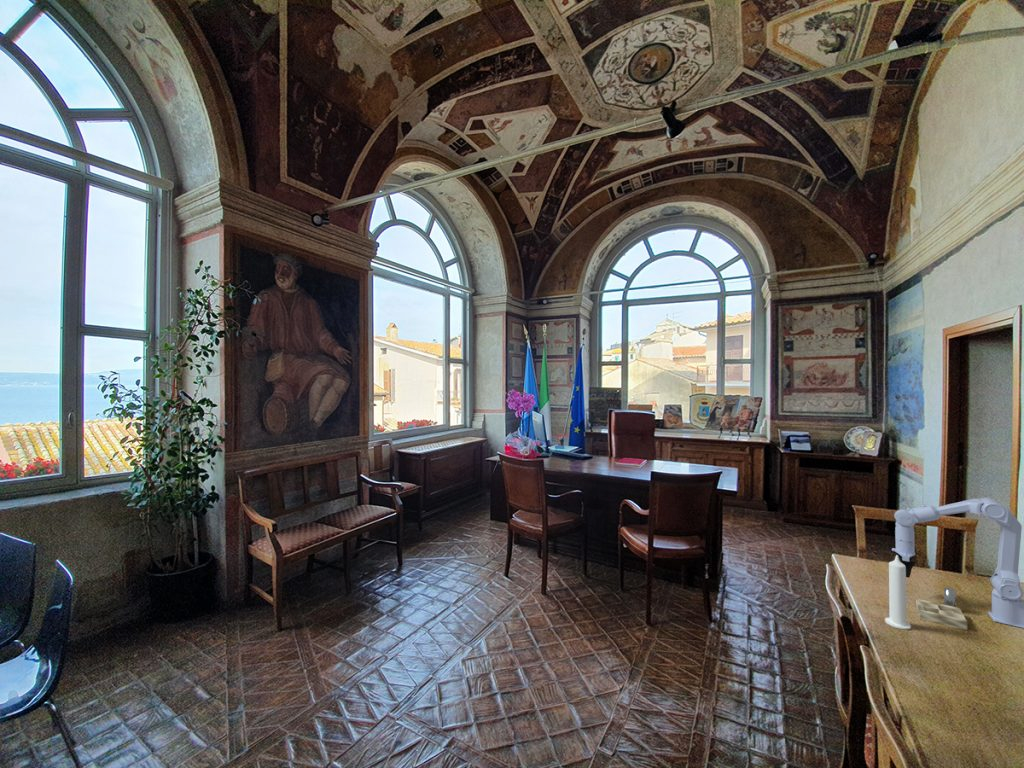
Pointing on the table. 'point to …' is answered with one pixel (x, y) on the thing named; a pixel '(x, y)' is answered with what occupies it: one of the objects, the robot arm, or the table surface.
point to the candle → (897, 595)
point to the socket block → (941, 614)
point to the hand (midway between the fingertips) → (905, 573)
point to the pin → (949, 596)
